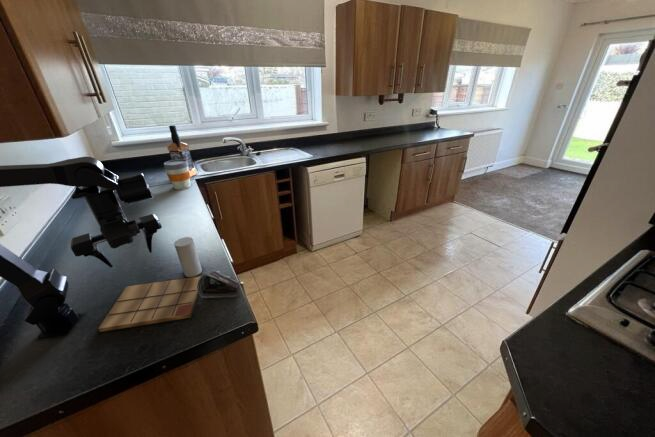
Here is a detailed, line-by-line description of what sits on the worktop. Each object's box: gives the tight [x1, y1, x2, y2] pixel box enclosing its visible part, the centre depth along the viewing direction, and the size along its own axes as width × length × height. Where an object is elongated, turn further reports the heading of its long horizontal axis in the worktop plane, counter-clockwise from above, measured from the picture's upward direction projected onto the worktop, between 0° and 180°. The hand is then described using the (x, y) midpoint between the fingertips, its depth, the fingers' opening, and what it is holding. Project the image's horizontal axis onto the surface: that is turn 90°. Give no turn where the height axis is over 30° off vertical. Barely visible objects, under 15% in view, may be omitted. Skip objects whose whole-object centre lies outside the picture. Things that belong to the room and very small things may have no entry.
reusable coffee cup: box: [163, 159, 192, 190], centre depth 157 cm, size 13×12×15 cm
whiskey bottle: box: [166, 124, 198, 178], centre depth 171 cm, size 10×10×32 cm
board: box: [97, 275, 201, 333], centre depth 77 cm, size 22×16×1 cm
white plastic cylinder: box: [173, 236, 203, 278], centre depth 87 cm, size 5×5×12 cm
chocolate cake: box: [197, 269, 240, 299], centre depth 81 cm, size 10×7×12 cm
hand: (131, 259), depth 74 cm, fingers open, 9 cm apart
